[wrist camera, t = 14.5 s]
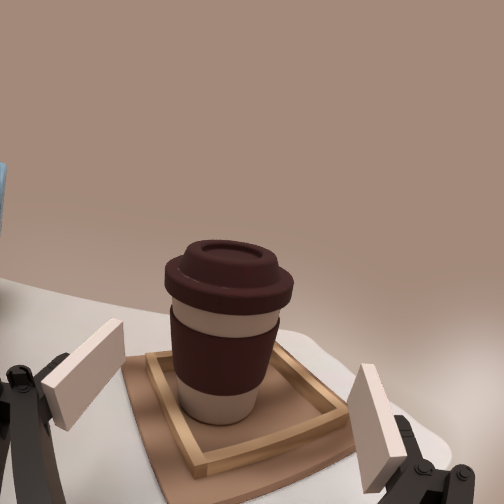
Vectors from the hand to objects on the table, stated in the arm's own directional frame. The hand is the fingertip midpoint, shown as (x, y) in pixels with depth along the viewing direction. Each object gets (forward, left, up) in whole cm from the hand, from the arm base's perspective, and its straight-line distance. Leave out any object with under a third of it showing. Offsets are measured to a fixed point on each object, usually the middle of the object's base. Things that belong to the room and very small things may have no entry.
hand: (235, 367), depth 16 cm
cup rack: (-8, +6, -13) cm, 16 cm away
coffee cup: (-9, +3, -11) cm, 15 cm away
